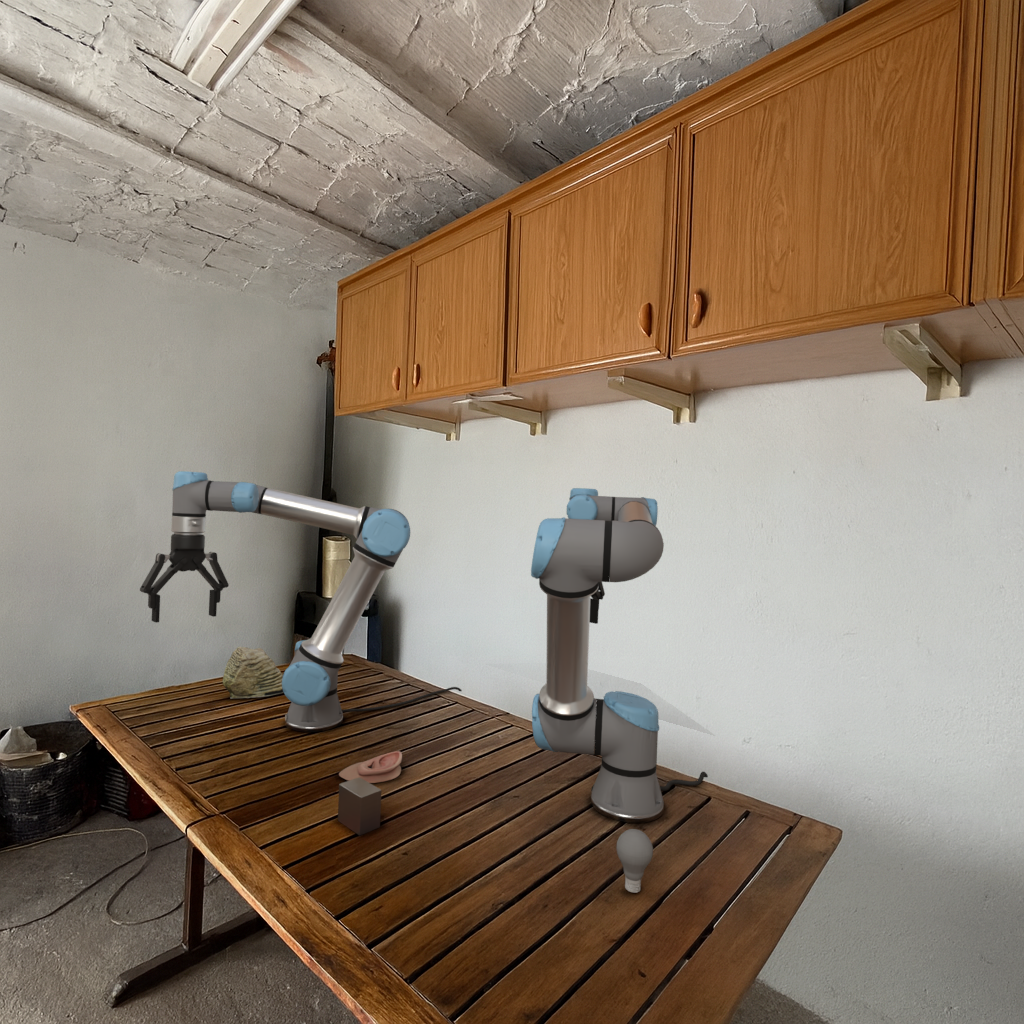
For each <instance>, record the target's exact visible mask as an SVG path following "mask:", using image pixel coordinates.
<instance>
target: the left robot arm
mask: <svg viewBox="0 0 1024 1024" xmlns="http://www.w3.org/2000/svg"><path fill="white" fill-rule="evenodd" d="M171 491H172V506H171V507H172V510H171V512H172V513H171V527H170V528H171V529H170V531H171V532H172V534H171V535H170V552H169V554H167V553H166V554H164V553H160V552H158V553H156V555H155V559H154V563H153V565H152V567H151V568H150V570H149V572H148V573H147V575H146V577H145V579H144V581H143V582H142V584H141V586H140V587H139V591H140V592H141V593H142V594H143V593H144V594H147V596H148V597H147V607H148V608H149V609H151V622H153V623H160V610H161V595H160V594H158V593H159V592H160V591H161V590H162V589H163V588H164V586H165V585H166V584H168V582H169V581H170V580H171V579H172V577H173V576H174V575H176V574H177V573H178V572H187V571H190V572H195V571H197V572H198V573H199V574H200V575H201V576H202V578H203V579H204V580H205V581H206V582H207V583H208V584H209V586H210V587H211V588H212V589H209V595H208V600H209V601H208V616H210V617H217V609H218V604H219V603H220V602H221V594H222V593H221V592H222V591H223V590H224V589H225V588H228V587H229V584H230V583H229V582H228V580H227V578H226V575H225V574H224V572H223V569H222V567H221V565H220V563H219V560H218V553H217V552H214V551H209V552H207V553H206V552H205V547H206V546H205V545H206V544H205V543H206V536H205V534H203V533H205V532H206V520H207V517H206V516H207V511H210V512H213V511H215V512H229V513H230V512H231V513H240V514H242V513H244V514H245V513H254V514H257V515H262V516H267V517H271V518H276V519H280V520H285V521H290V522H294V523H298V524H302V525H308V526H312V527H316V528H321V529H325V530H329V531H334V532H338V533H342V534H348V535H352V536H354V537H355V539H356V541H355V542H354V545H353V547H352V550H353V554H354V557H353V559H352V561H351V563H350V565H349V566H348V568H347V570H346V572H345V574H344V576H343V577H342V579H341V582H340V584H338V587H337V589H336V591H335V592H334V595H333V596H332V597H331V600H330V601H329V604H328V606H327V607H326V609H325V611H324V613H323V615H322V617H321V619H320V621H319V622H318V624H317V627H316V628H315V629H314V632H313V634H312V635H311V637H310V638H308V639H303V640H299V641H297V642H296V643H295V648H294V656H293V658H292V660H291V662H290V664H289V666H288V667H287V668H286V669H285V671H284V672H283V673H282V675H283V677H282V678H283V679H282V689H283V694H284V696H285V698H286V699H288V701H290V704H289V708H288V711H287V712H286V714H285V715H284V719H285V726H286V728H287V729H289V730H291V731H294V732H295V731H296V732H301V733H316V732H325V731H329V730H332V729H335V728H337V727H339V726H340V725H342V723H343V722H344V714H343V713H354V712H355V713H356V712H359V713H360V712H369V711H378V710H383V709H389V708H395V707H399V706H402V705H406V704H407V705H408V704H410V703H414V702H417V701H419V700H422V699H424V698H428V697H430V696H431V697H432V696H433V695H436V694H441V693H445V692H449V691H452V690H457V692H462V691H463V690H462V689H461V688H460V687H458V686H451V687H448V688H445V689H440V690H435V691H432V692H429V693H426V694H422V695H419V696H417V697H415V698H414V697H413V698H412V699H408V700H404V701H402V702H401V701H400V702H397V703H392V704H391V703H390V704H386V705H381V706H373V707H366V708H345V709H342V706H341V702H340V699H339V695H338V682H339V681H338V680H339V678H338V677H339V671H340V669H341V668H342V665H343V663H344V661H345V660H344V657H343V653H342V652H343V651H344V649H345V647H346V645H347V643H348V641H349V640H350V638H351V635H352V634H353V632H354V630H355V628H356V626H357V624H358V623H359V620H360V619H361V617H362V615H363V613H364V611H365V609H366V607H367V606H368V604H369V602H370V600H371V598H372V596H373V594H374V593H375V591H376V589H377V586H378V585H379V583H380V582H381V580H382V577H384V574H385V572H386V571H389V570H391V569H394V567H395V566H396V564H397V561H398V560H399V558H400V556H401V555H402V552H403V551H404V549H405V548H406V547H407V546H408V543H409V542H410V539H411V526H410V523H409V520H408V518H407V517H406V516H405V515H404V514H403V513H402V512H401V511H399V510H397V509H394V508H378V507H372V506H366V505H363V506H361V507H360V508H359V507H355V506H352V505H351V506H350V505H348V504H347V505H346V504H342V503H338V502H333V501H328V500H324V499H319V498H315V497H311V496H306V495H302V494H298V493H293V492H289V491H284V490H280V489H275V488H272V487H266V486H263V485H258V484H256V483H254V482H248V481H222V480H221V481H218V480H217V481H216V480H209V477H208V474H207V473H206V472H201V471H200V472H199V471H185V470H184V471H183V470H181V471H180V470H178V471H176V473H174V476H173V486H172V489H171ZM168 560H169V562H170V565H169V566H168V567H167V568H166V570H165V571H164V572H163V574H161V576H160V577H159V578H158V576H159V575H160V572H161V571H162V570H163V567H164V565H165V564H166V563H167V562H168ZM205 560H206V561H207V562H208V563H209V565H210V567H211V569H212V571H213V574H214V575H215V577H214V576H213V575H212V574H211V573H210V572H209V570H208V569H207V567H206V566H205V565H204V564H203V562H204V561H205ZM156 579H157V580H156Z"/></svg>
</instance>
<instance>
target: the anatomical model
mask: <svg viewBox="0 0 1024 1024" xmlns="http://www.w3.org/2000/svg"><path fill="white" fill-rule="evenodd" d="M402 761H403V754H402V751H399V750H397V751H391V752H387V753H384V754H381V755H377V756H375V757H373V758H370V759H367V760H365V761H361V762H355V763H353V764H351V765H349V766H347V767H345V768H343V769H342V770H341V771H340V772H339V773H338V776H339V777H340V778H342V779H344V780H346V781H350V780H353V779H355V778H358V777H360V778H362V779H363V780H365V781H367V782H368V783H370V784H375V783H383V782H387V781H391V780H393V779H396V778H398V777H399V776H400V774H401V772H402V767H401V763H402Z"/></svg>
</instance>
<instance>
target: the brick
mask: <svg viewBox="0 0 1024 1024" xmlns="http://www.w3.org/2000/svg"><path fill="white" fill-rule="evenodd" d="M337 803H338V806H337V822H339V823H340V824H342V825H343V826H344V827H346V828H347V829H349V830H351V831H352V832H354V834H356V835H357V836H362V835H365V834H367V833H369V832H372V831H374V830H377V829H379V828H381V811H382V789H381V788H379V787H377V786H376V785H374V784H373V783H368V782H367V781H365V780H363V779H362V778H360V777H358V778H355V779H353V780H350V781H348V780H346V781H344V782H341V783H339V784H338V802H337Z"/></svg>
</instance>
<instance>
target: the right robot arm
mask: <svg viewBox="0 0 1024 1024" xmlns="http://www.w3.org/2000/svg"><path fill="white" fill-rule="evenodd" d="M568 498H569V501H568V502H567V504H566V516H567V518H566V517H565V516H563V517H559V518H558V517H555V518H553V517H551V518H549V517H547V518H544V519H542V520H541V521H540V523H539V525H538V529H537V531H536V536H535V543H534V548H533V553H532V560H531V568H530V576H531V577H532V578H534V579H536V580H538V584H539V589H540V590H541V591H542V592H543V593H544V594H545V595H546V673H545V674H546V675H545V676H546V678H545V679H546V682H545V684H544V685H543V686H542V687H541V688H540V690H539V693H536V694H535V695H534V696H533V699H532V705H531V720H532V721H531V725H532V726H531V727H532V735H533V739H534V743H535V744H536V746H537V747H538V749H541V750H545V751H550V752H553V753H567V754H568V753H570V754H577V755H590V756H597V757H599V756H600V757H601V761H600V768H599V771H598V774H597V777H596V779H595V781H594V783H593V785H592V786H591V789H590V794H591V795H590V804H591V806H592V807H593V809H594V810H595V811H596V812H597V813H599V814H601V815H602V816H604V817H607V818H608V819H610V820H615V821H618V822H622V823H630V824H643V823H644V824H645V823H649V822H653V821H656V820H658V819H659V818H660V817H662V815H663V813H664V805H665V804H664V803H665V802H664V797H663V793H662V792H667V791H669V790H670V789H671V787H672V786H673V785H681V786H688V787H696V786H699V785H700V784H702V783H703V781H704V779H705V778H708V777H709V776H708V773H707V772H705V771H701V772H700V774H699V777H698V778H697V779H696V780H684V779H671V780H669V781H667V783H666V785H664V786H663V785H660V783H659V777H658V775H657V764H658V742H659V741H658V739H659V738H658V737H659V731H660V724H659V710H658V707H657V705H655V703H654V702H652V701H651V700H649V699H647V698H646V697H644V696H641V695H639V694H635V693H631V692H626V691H620V690H616V691H614V690H613V691H607V692H606V693H605V694H604V696H603V698H595V695H594V692H593V690H592V688H591V687H590V686H589V685H588V677H589V674H588V673H589V652H590V651H589V646H590V624H591V623H592V624H596V625H598V624H599V610H600V600H601V601H603V599H604V597H605V595H606V593H605V589H604V584H603V583H622V582H629V581H633V580H634V579H637V578H639V577H642V576H643V575H645V574H647V573H648V572H649V571H651V570H652V569H654V568H655V567H656V565H657V564H658V563H659V562H660V560H661V558H662V556H663V553H664V547H665V546H664V545H665V544H664V539H663V535H662V533H661V531H660V529H659V528H658V527H657V523H658V512H659V511H658V509H659V508H658V507H659V506H658V501H657V500H656V499H655V498H649V497H644V496H642V497H631V496H630V497H626V496H610V495H609V496H607V495H606V496H605V495H603V496H602V495H599V491H598V490H597V489H596V488H585V487H584V488H581V487H573V488H572V489H570V494H569V497H568ZM697 780H698V781H697Z"/></svg>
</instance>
